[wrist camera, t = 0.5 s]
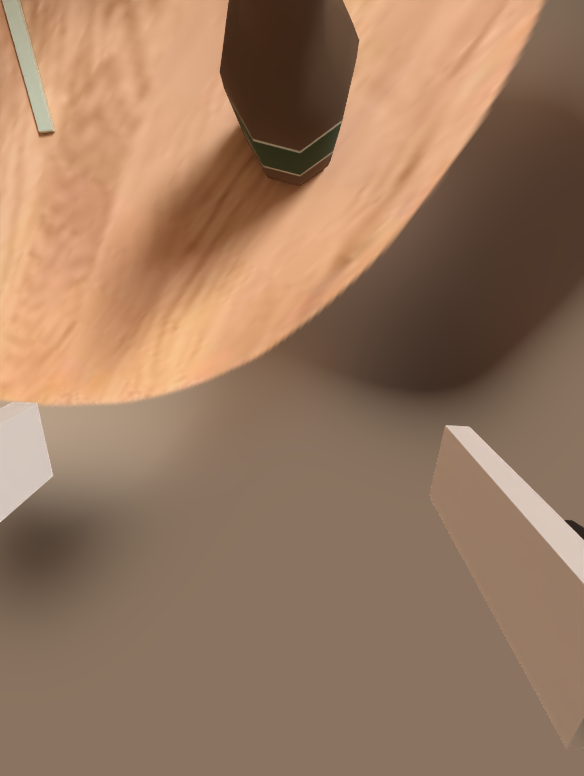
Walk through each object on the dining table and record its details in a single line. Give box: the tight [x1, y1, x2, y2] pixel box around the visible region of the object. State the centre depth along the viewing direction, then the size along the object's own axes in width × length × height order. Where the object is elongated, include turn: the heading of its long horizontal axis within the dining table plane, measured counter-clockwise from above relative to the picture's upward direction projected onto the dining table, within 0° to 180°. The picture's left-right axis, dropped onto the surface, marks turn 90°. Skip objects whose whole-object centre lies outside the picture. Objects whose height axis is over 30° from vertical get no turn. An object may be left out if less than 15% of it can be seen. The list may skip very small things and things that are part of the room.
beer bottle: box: [220, 0, 359, 186], centre depth 19 cm, size 8×8×24 cm
